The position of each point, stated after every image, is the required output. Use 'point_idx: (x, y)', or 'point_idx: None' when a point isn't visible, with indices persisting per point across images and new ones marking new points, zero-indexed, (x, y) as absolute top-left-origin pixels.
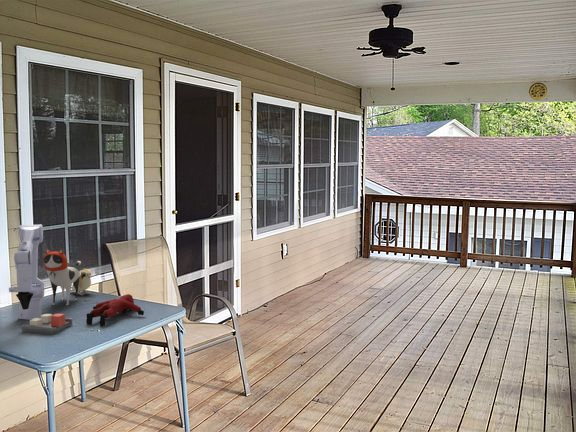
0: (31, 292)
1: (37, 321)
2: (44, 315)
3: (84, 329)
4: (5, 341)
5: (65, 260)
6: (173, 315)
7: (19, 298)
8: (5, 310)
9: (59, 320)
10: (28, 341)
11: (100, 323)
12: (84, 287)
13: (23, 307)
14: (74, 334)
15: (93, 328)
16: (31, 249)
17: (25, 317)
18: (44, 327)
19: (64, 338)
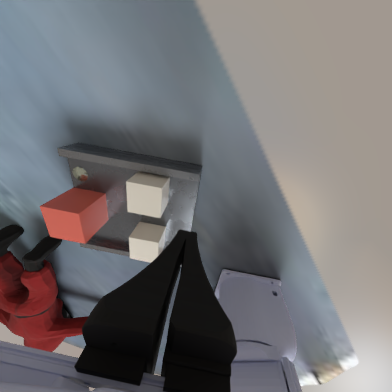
0: (49, 364)
1: (128, 184)
2: (148, 247)
3: (31, 198)
4: (200, 23)
5: None
6: None
7: (198, 293)
8: (344, 334)
9: (55, 199)
10: (98, 40)
11: (12, 230)
12: None
13: (185, 237)
14: (14, 151)
15: (17, 207)
16: None
17: (257, 282)
18: (91, 154)
19: (3, 102)
